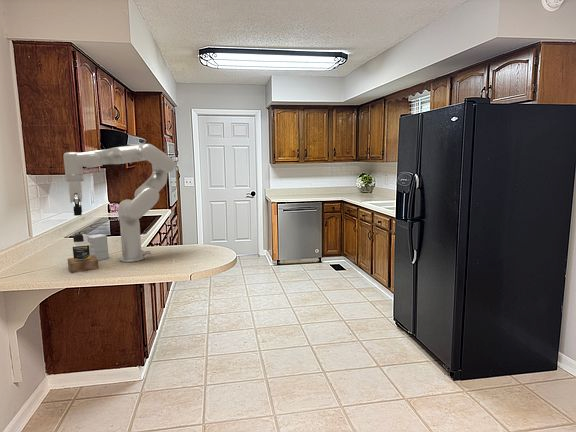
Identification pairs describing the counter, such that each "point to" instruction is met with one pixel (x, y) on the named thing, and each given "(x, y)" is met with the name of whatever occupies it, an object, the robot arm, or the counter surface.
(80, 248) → the medicine bottle
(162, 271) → the counter surface
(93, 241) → the supplement box
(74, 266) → the walnut block
